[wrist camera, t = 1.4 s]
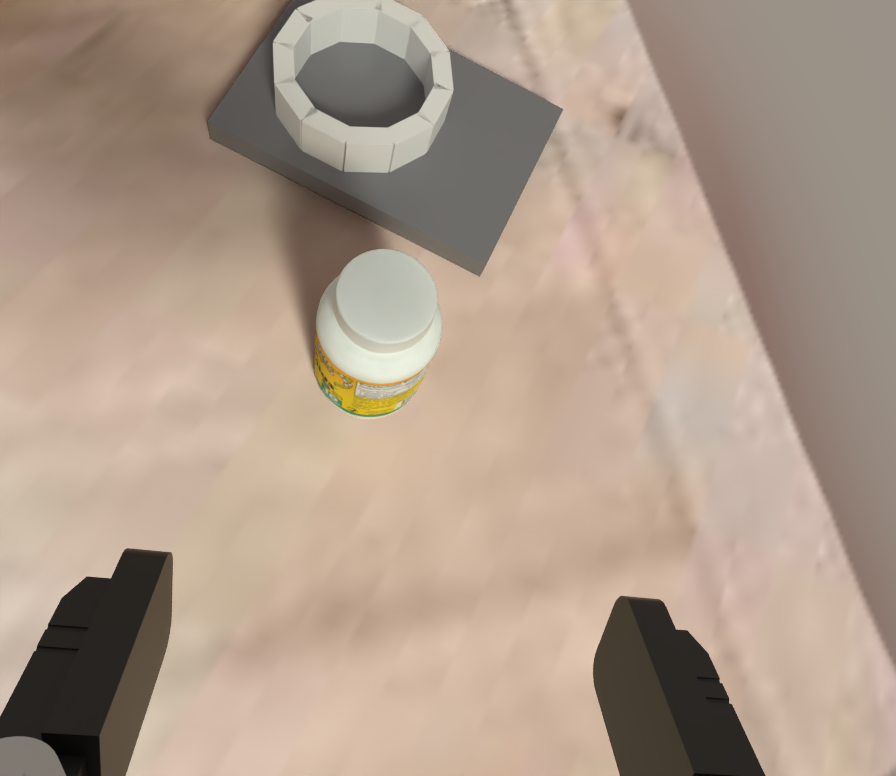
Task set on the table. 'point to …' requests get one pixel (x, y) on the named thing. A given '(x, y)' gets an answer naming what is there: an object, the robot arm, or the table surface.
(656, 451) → the table surface
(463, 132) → the mount plate
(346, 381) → the supplement bottle
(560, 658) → the table surface
